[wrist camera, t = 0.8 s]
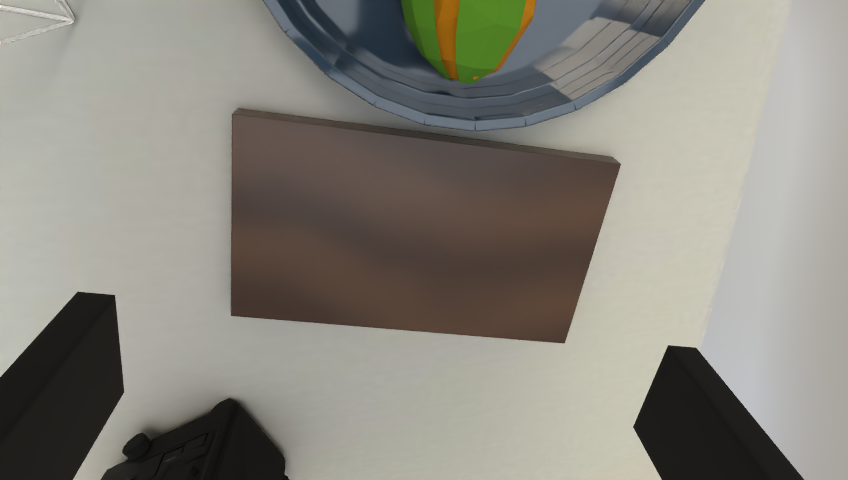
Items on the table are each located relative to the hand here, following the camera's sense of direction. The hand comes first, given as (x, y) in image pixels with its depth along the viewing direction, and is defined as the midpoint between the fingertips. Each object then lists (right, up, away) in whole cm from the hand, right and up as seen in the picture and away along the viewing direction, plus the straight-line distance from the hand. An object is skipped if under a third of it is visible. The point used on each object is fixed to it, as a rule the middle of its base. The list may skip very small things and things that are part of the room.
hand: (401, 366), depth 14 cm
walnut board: (0, +4, +25) cm, 25 cm away
